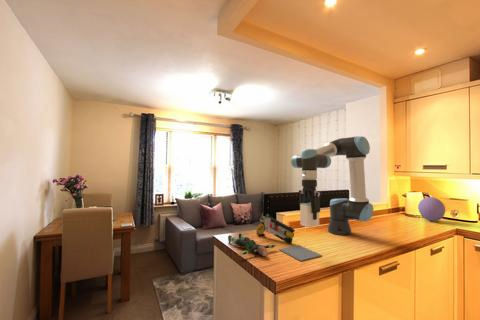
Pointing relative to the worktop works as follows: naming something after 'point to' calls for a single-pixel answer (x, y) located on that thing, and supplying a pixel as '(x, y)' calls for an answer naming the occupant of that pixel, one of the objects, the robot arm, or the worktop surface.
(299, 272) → the worktop surface
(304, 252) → the mat
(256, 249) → the figurine
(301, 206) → the cream rectangular block
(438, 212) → the ball
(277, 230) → the toy gun
